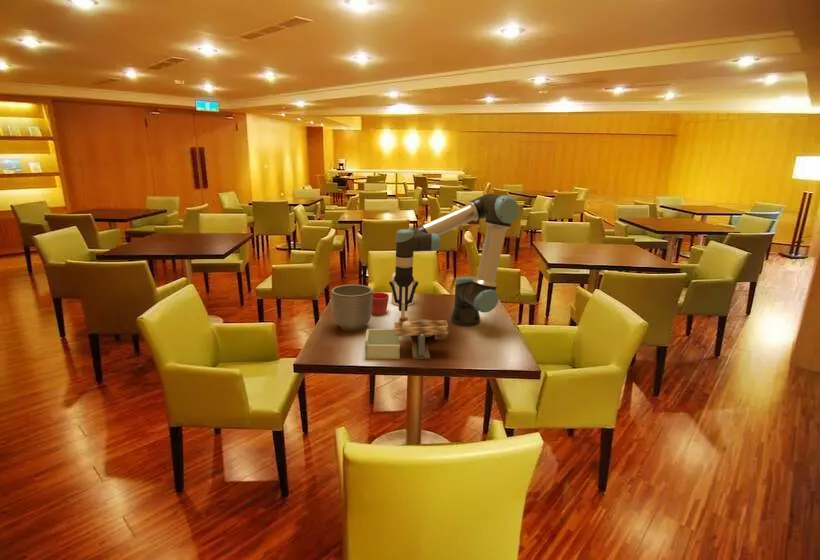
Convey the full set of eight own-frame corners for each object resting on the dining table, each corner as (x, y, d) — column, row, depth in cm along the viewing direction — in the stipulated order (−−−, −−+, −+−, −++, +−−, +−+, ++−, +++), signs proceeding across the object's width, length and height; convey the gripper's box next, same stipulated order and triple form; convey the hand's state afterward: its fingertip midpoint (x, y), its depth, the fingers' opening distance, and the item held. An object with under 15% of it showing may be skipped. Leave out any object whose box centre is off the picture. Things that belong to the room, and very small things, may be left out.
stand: (427, 346, 197) (428, 322, 194) (430, 358, 185) (430, 333, 182) (411, 346, 197) (412, 322, 194) (412, 358, 185) (413, 333, 182)
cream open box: (399, 346, 197) (399, 329, 195) (399, 359, 184) (399, 341, 182) (366, 346, 196) (366, 329, 194) (365, 359, 184) (365, 340, 182)
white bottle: (389, 305, 250) (389, 270, 245) (393, 298, 262) (394, 265, 257) (411, 307, 248) (412, 271, 243) (415, 300, 260) (416, 266, 255)
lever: (443, 323, 204) (443, 311, 202) (448, 339, 186) (448, 326, 184) (394, 325, 203) (394, 313, 202) (395, 341, 185) (394, 328, 184)
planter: (336, 320, 226) (335, 283, 221) (375, 321, 226) (375, 284, 221) (327, 335, 207) (326, 295, 202) (370, 336, 207) (370, 296, 202)
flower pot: (392, 311, 240) (393, 294, 238) (380, 317, 231) (380, 299, 229) (376, 308, 246) (376, 291, 243) (364, 313, 237) (364, 296, 234)
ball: (409, 329, 190) (413, 321, 189) (409, 333, 186) (413, 325, 185) (400, 325, 190) (404, 317, 189) (400, 329, 186) (404, 321, 185)
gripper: (418, 264, 197) (417, 315, 203) (389, 263, 196) (388, 314, 203) (419, 268, 190) (418, 320, 196) (388, 267, 189) (388, 320, 195)
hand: (402, 317), depth 199 cm, fingers closed
